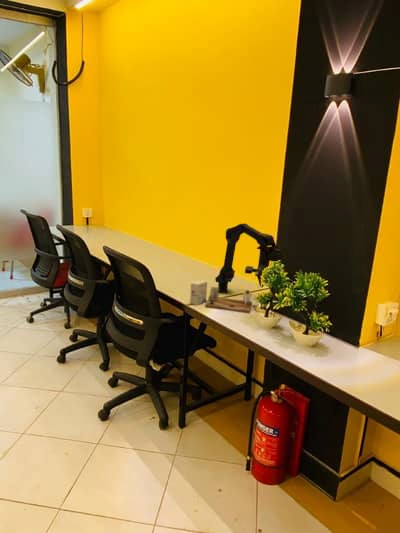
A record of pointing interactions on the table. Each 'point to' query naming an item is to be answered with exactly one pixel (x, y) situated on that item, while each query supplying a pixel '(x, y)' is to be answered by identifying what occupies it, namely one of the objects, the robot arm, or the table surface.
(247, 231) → the robot arm
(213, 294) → the gauge fixed leg
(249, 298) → the gauge slider
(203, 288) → the ink box
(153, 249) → the table surface
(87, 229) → the table surface
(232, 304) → the hole board
